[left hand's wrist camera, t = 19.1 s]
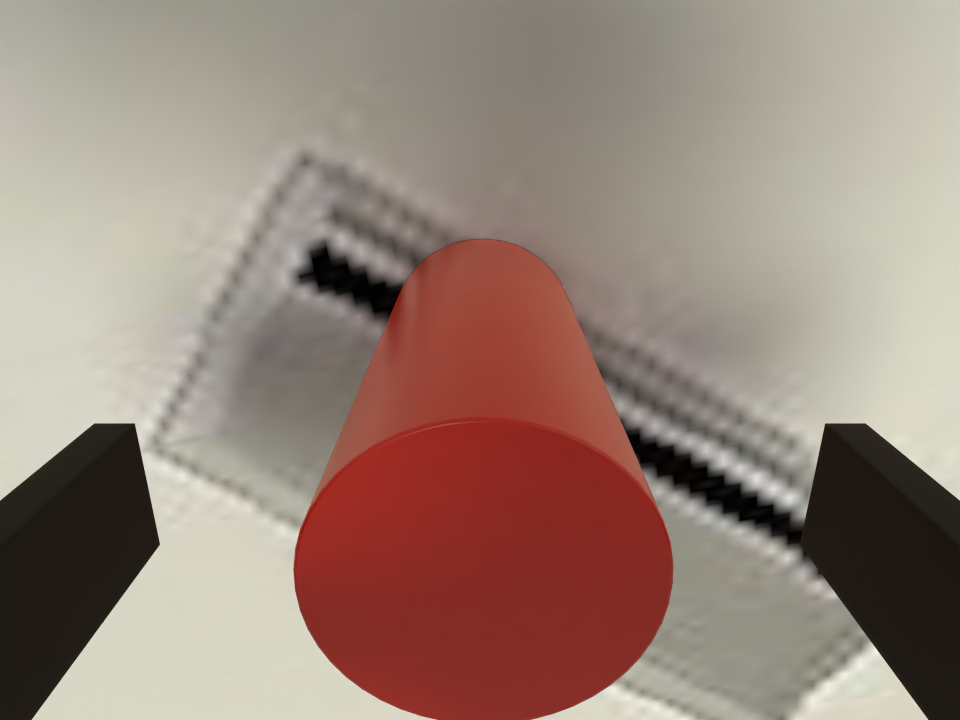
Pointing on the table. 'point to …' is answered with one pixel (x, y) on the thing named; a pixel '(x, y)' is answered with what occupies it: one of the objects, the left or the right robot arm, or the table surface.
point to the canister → (483, 506)
